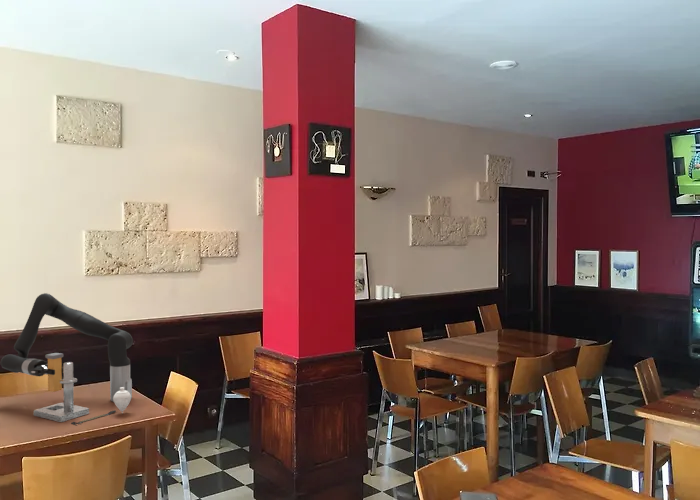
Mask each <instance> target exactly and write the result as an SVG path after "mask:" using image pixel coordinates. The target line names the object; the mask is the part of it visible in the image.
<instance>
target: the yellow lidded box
mask: <svg viewBox="0 0 700 500" xmlns="http://www.w3.org/2000/svg"><path fill="white" fill-rule="evenodd" d="M62 358H64V353H61V352H60V353H59V352H54V353H52V352H51V353H48V354H45V359H47V363H48V369H53V370H55V375H51V374H48V375H47V392H52V393H55V392H60V391H62V390H63V384H60V380H61V379H63V376H62V367H63V365H62V364H63V363H62Z"/></svg>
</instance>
